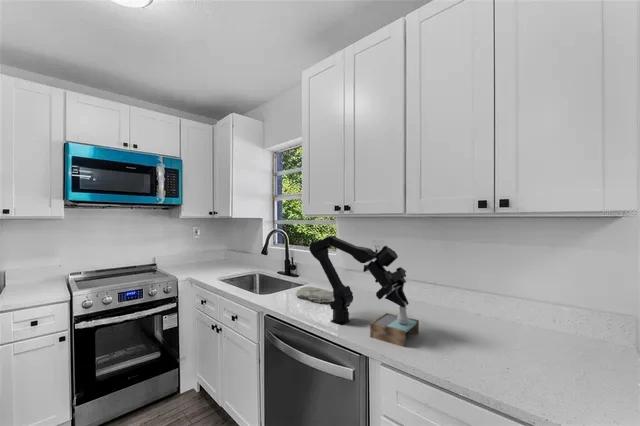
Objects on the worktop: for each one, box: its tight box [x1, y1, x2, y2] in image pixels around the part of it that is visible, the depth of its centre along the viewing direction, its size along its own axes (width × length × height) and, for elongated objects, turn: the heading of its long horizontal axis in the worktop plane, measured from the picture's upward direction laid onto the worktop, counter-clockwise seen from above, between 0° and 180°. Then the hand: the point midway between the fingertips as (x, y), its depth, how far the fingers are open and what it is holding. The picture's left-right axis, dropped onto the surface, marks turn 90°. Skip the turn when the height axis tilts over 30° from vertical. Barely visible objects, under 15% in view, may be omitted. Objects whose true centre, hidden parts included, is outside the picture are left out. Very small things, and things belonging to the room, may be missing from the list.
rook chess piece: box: [397, 301, 409, 324], centre depth 113 cm, size 4×4×8 cm
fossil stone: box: [295, 285, 334, 304], centre depth 165 cm, size 28×15×5 cm, turn 49°
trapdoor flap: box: [375, 315, 417, 333], centre depth 115 cm, size 12×12×2 cm
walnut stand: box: [369, 312, 420, 348], centre depth 116 cm, size 14×16×6 cm
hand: (406, 305), depth 113 cm, fingers closed on rook chess piece, 3 cm apart
